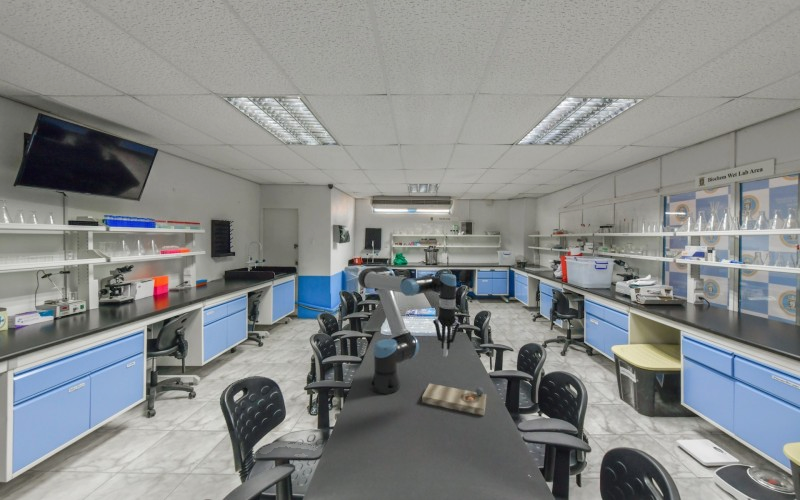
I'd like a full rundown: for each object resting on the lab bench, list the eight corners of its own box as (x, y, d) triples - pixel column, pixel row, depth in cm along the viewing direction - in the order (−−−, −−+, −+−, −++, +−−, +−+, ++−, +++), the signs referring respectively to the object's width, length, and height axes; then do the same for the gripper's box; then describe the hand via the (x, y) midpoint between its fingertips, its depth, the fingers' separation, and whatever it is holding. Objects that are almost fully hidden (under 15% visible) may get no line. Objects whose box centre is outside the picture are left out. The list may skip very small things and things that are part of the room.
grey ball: (475, 396, 140) (475, 388, 140) (476, 392, 143) (476, 385, 143) (483, 397, 139) (483, 390, 139) (483, 393, 142) (483, 386, 142)
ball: (469, 397, 137) (475, 402, 136) (470, 394, 140) (476, 399, 139) (464, 402, 137) (471, 408, 136) (465, 399, 141) (471, 404, 140)
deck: (422, 402, 140) (422, 396, 140) (429, 389, 152) (429, 383, 152) (483, 415, 130) (484, 409, 130) (486, 400, 142) (486, 394, 142)
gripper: (431, 307, 140) (430, 356, 141) (459, 310, 135) (457, 361, 137) (435, 303, 147) (434, 350, 148) (462, 306, 142) (460, 354, 144)
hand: (445, 355), depth 143 cm, fingers closed
